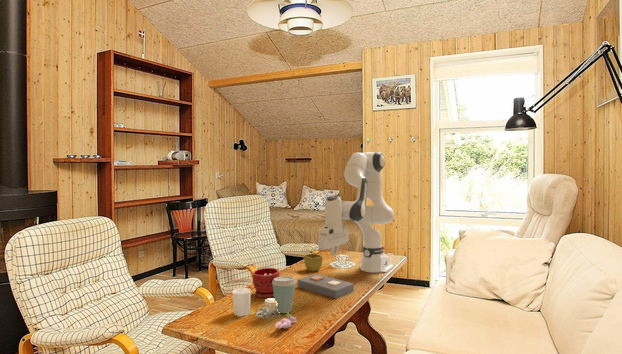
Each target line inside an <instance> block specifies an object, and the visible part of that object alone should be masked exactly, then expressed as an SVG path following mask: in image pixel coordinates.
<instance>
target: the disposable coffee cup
mask: <svg viewBox="0 0 622 354" xmlns="http://www.w3.org/2000/svg"><path fill="white" fill-rule="evenodd" d="M272 284H273V291H274V296H273V297H274V298H273V299H274V301H275V300H276V301H277V303H278V306H277V309H278V312H280V313H287V312H290V313H291V311H292V309H293V303H294V298H295V297H294V296H295V290H296V284H297V279H296V277H294V276H288V275H287V276H286V275H285V276H284V275H283V276H279V277H277V278H274V279H273V281H272ZM280 313H279V314H280Z"/></svg>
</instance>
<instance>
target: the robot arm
mask: <svg viewBox="0 0 622 354" xmlns="http://www.w3.org/2000/svg"><path fill="white" fill-rule="evenodd" d="M385 165H386V158H385V156H384V154H383V153H382V152H379V151H376V152H373V151H366V152H359V151H358V152H354V153H352V154H351V155H350V156H349V158H348V161H347V164H346V166H345V169H344V172H343V177H344V181H346V183H348V184H349V185H350V186H352V187H355V188H357V193H356V199H355V200H353V201H350V200H342V199H341V196H339V195H329V196H327V197H326V199H325V201H324V202H325V203H324V215H325V221H324V224H323V225H322V226H321V227H320V228H318V229H317V231H318V232H317V233H318V236H317V237H318V240H317V242H318V243H317V246H318V249H319V250H329V251H330V255H331V256H335V255H338V251H339V248H340V246H341V245H344V244H347V243H348V242H349V233H348V232H349V231H348V227H347V226H346V225H343V220H349V221H353V222H354V223H355V224H357V225H358V227H359V229H360V230H361V234H362V243H363V244H362V249H361V250H362V254H361V259H360V265H358V267H359V268H360V270H361V271H362V272H364V273H374V274H375V273H378V274H379V273H383V272H385V273H387V272H389V271H390V270H392V269H393V268H395V266H394V264H392V263H391V260H390V257H389V256H388V255H387V254H386V253H385V252H384V250H386V245H385V246H384V245H382V241H383V240H382V238H383V237H382V233H381V232H380V231H379V230H378V229H376V228H374V227H373V226H372V225H387V224H391V223H392V222H393V221H394V219H395V213H394V210H393V209H392V208H391V206H389V205H388V204H387V202H386V201H385V198H384V196H383V187H382V186H383V183H382V181H383V180H382V179H383V178H382V170H383V168H384V167H385ZM367 200H369V201H371V202H372V204H373V205H366V203H367Z"/></svg>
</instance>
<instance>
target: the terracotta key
mask: <svg viewBox="0 0 622 354" xmlns="http://www.w3.org/2000/svg"><path fill="white" fill-rule="evenodd" d="M310 280H313V281H320V280H323V277H320V276H313V277H310Z"/></svg>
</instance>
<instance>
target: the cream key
mask: <svg viewBox="0 0 622 354" xmlns="http://www.w3.org/2000/svg"><path fill="white" fill-rule="evenodd" d="M327 284H328V285H331V286H338V285H340V284H341V282H338V281H334V280H333V281H330V282H327Z"/></svg>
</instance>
